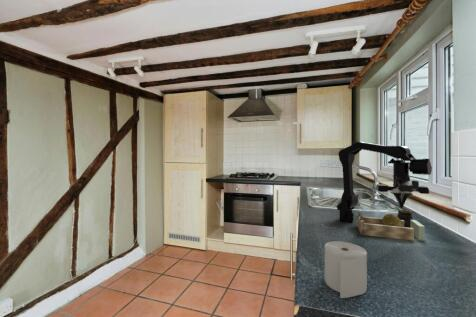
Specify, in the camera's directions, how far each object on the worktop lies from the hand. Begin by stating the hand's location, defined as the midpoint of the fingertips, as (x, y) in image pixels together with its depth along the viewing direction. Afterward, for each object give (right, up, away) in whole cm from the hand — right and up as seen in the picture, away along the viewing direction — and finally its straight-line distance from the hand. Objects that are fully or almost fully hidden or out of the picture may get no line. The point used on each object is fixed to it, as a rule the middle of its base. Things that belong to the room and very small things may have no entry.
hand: (401, 207), depth 100 cm
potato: (-3, -12, +2) cm, 13 cm away
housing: (-6, -12, +3) cm, 14 cm away
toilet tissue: (-44, -13, -39) cm, 61 cm away
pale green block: (+6, -12, -2) cm, 14 cm away
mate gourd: (+10, -12, +11) cm, 20 cm away
